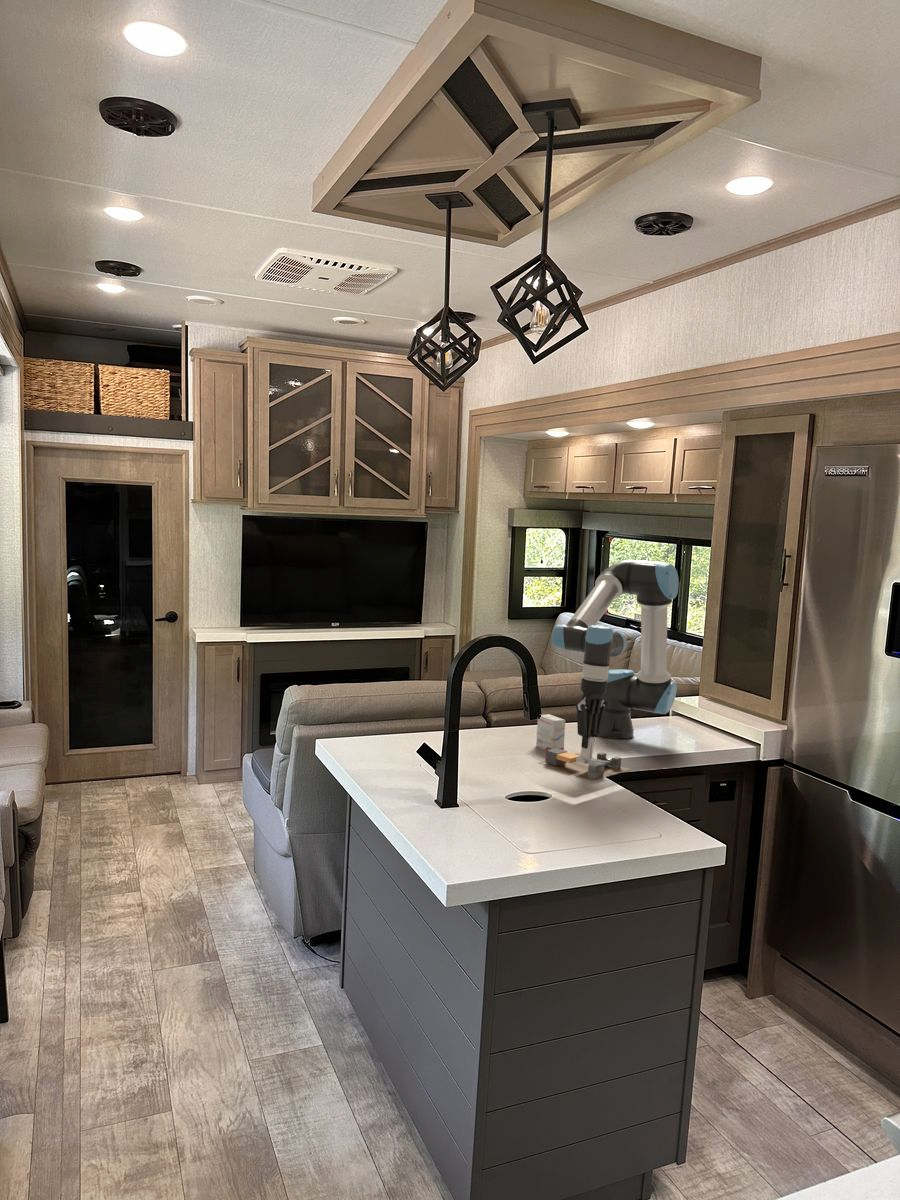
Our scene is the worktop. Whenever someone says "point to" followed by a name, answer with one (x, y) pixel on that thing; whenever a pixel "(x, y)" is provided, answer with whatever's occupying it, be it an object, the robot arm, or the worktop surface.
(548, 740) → the ink box
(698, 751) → the worktop surface
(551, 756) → the latch
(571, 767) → the board
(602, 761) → the strap
